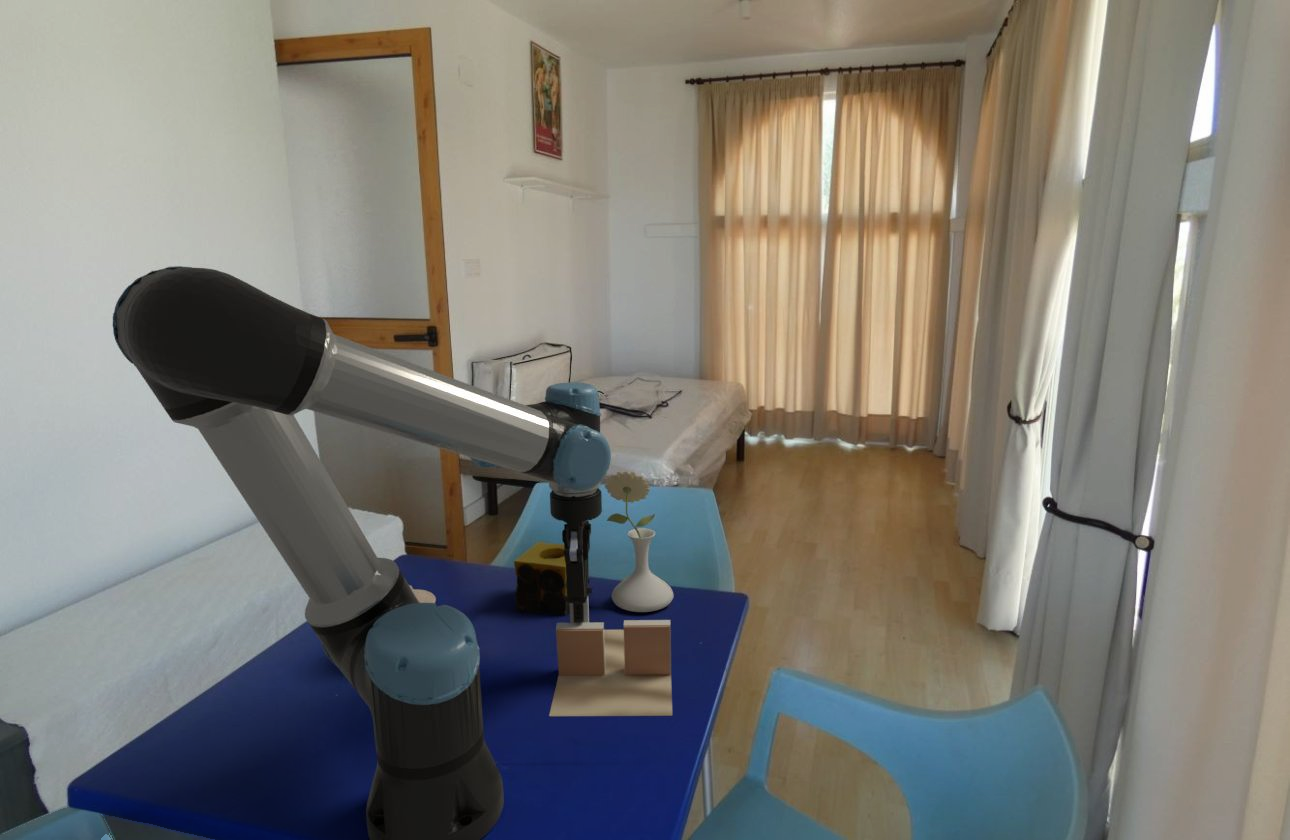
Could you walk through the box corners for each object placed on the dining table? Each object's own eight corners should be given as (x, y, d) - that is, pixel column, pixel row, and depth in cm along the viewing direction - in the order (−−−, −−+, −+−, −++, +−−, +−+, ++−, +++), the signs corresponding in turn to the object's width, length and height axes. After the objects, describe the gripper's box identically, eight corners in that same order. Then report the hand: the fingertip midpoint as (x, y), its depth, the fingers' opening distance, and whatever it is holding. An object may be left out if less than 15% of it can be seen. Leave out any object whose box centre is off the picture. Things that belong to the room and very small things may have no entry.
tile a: (604, 675, 111) (602, 630, 108) (558, 676, 111) (555, 630, 108) (605, 667, 112) (603, 622, 110) (560, 667, 113) (557, 622, 110)
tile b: (671, 675, 110) (670, 626, 109) (624, 675, 110) (623, 626, 109) (670, 667, 112) (670, 619, 111) (625, 668, 112) (624, 620, 111)
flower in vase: (683, 597, 137) (683, 468, 132) (656, 624, 127) (654, 486, 122) (623, 584, 143) (619, 460, 138) (592, 608, 133) (587, 476, 128)
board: (672, 719, 101) (672, 715, 101) (549, 720, 101) (549, 716, 101) (669, 632, 124) (669, 629, 124) (569, 633, 124) (569, 629, 124)
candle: (514, 613, 132) (511, 561, 130) (538, 589, 142) (536, 540, 139) (567, 620, 129) (564, 567, 127) (587, 595, 139) (586, 545, 136)
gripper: (598, 503, 100) (602, 659, 105) (604, 476, 113) (607, 617, 118) (543, 503, 100) (549, 660, 105) (555, 476, 113) (560, 617, 118)
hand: (580, 637), depth 112 cm, fingers closed
